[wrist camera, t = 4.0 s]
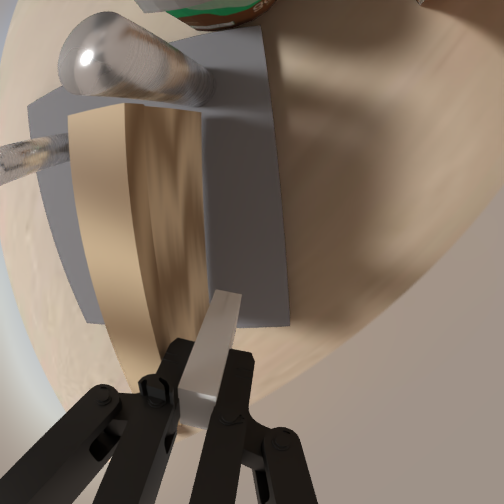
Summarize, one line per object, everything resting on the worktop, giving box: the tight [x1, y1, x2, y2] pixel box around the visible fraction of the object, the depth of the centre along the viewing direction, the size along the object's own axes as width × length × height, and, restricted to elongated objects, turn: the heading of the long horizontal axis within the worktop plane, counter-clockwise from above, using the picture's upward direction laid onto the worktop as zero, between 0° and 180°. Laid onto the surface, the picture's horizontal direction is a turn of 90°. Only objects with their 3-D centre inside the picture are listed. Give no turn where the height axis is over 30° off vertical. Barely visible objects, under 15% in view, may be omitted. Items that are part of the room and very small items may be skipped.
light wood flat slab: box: [68, 103, 209, 426], centre depth 15 cm, size 16×2×10 cm, turn 179°
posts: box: [0, 12, 216, 186], centre depth 13 cm, size 3×14×13 cm, turn 107°
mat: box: [27, 25, 290, 328], centre depth 21 cm, size 24×22×1 cm
